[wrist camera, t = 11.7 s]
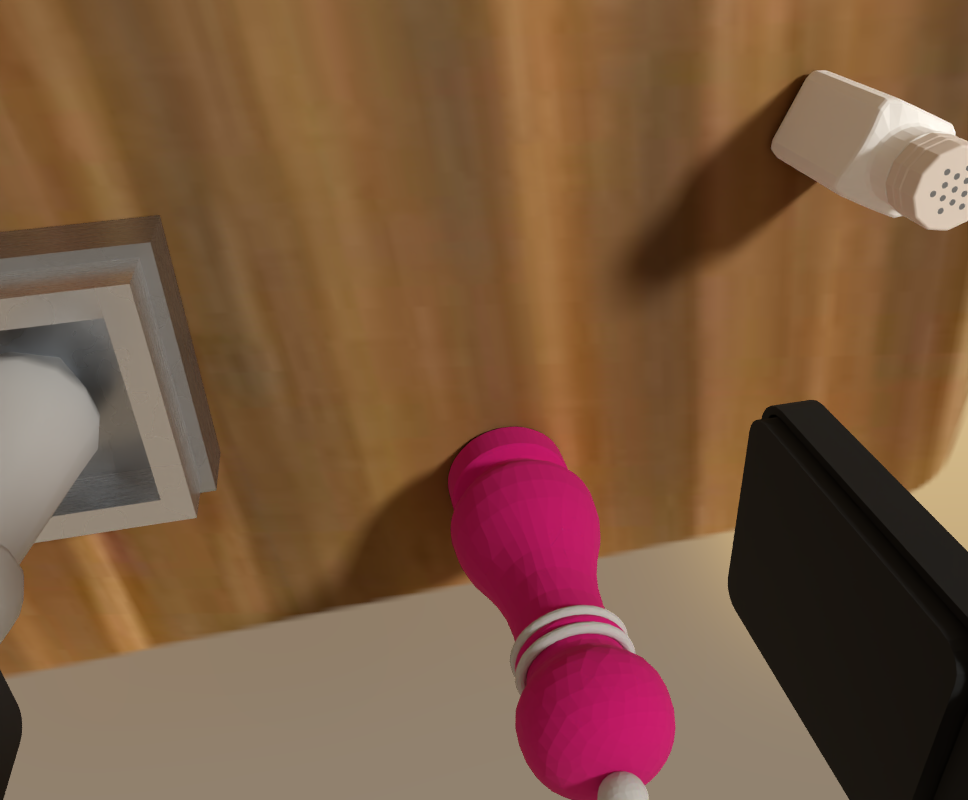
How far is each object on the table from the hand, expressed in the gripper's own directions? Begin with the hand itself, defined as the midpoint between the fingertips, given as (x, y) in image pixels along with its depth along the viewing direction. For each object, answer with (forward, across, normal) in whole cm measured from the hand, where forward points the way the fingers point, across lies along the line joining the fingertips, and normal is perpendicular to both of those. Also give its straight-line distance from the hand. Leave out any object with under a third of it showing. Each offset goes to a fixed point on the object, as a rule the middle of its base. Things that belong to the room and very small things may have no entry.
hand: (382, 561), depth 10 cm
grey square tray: (+28, +13, +11) cm, 33 cm away
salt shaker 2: (+28, -22, +4) cm, 36 cm away
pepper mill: (+28, -7, +21) cm, 36 cm away
